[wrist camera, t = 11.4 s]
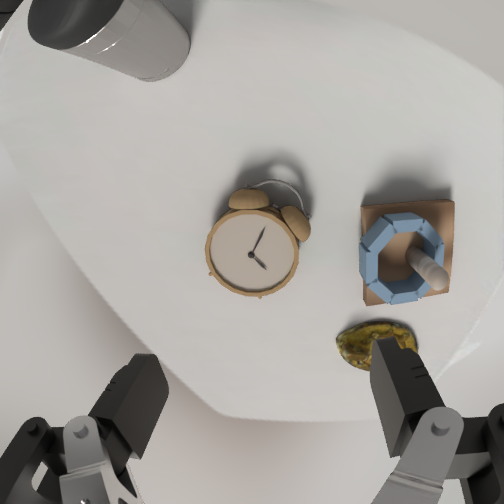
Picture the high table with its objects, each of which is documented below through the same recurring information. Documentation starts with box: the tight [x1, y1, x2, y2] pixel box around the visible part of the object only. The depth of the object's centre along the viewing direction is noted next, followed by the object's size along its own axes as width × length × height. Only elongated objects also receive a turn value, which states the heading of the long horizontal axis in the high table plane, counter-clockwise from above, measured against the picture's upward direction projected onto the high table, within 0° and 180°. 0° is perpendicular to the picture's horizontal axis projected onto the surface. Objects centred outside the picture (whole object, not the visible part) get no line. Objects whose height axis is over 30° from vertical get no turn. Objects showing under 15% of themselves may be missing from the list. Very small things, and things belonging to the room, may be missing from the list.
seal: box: [336, 322, 418, 371], centre depth 40 cm, size 9×5×15 cm
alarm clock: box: [205, 179, 311, 299], centre depth 36 cm, size 11×5×15 cm
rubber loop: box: [359, 212, 445, 305], centre depth 33 cm, size 10×10×4 cm
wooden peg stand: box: [361, 199, 454, 306], centre depth 32 cm, size 13×13×10 cm
